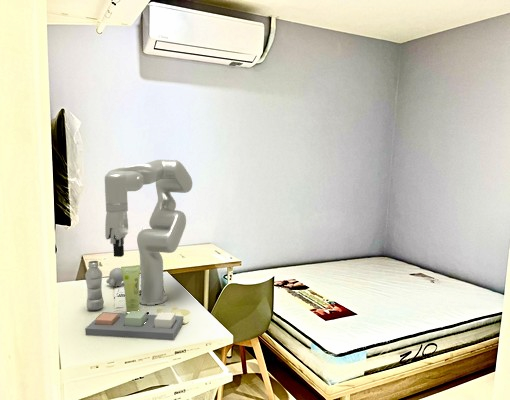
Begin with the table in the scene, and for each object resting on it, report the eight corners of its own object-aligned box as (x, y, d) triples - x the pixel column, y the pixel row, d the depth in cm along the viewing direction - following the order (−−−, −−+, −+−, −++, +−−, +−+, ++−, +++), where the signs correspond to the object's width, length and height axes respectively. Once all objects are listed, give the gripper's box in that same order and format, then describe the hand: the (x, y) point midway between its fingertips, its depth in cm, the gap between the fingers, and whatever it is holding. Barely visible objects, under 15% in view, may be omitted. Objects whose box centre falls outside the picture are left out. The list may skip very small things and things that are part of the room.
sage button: (131, 319, 155) (131, 310, 155) (146, 320, 155) (146, 311, 154) (125, 326, 150) (124, 317, 149) (141, 327, 149) (140, 318, 149)
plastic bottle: (98, 313, 165) (96, 265, 162) (83, 311, 167) (81, 263, 164) (107, 306, 172) (105, 260, 169) (92, 305, 173) (90, 259, 170)
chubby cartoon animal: (132, 290, 197) (138, 273, 198) (108, 286, 190) (115, 268, 190) (127, 286, 203) (133, 269, 203) (104, 281, 196) (110, 264, 196)
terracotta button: (103, 321, 157) (103, 312, 156) (118, 322, 156) (118, 313, 156) (96, 328, 151) (95, 319, 150) (111, 329, 150) (111, 320, 150)
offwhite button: (159, 321, 155) (159, 312, 154) (175, 321, 154) (175, 313, 154) (154, 328, 149) (154, 319, 148) (170, 329, 148) (170, 320, 148)
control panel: (103, 318, 161) (102, 312, 160) (183, 322, 158) (183, 316, 158) (85, 335, 147) (85, 328, 147) (173, 340, 144) (173, 333, 144)
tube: (131, 316, 163) (130, 268, 160) (122, 313, 166) (120, 266, 163) (142, 311, 168) (140, 264, 165) (133, 308, 170) (131, 262, 168)
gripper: (115, 203, 157) (117, 250, 160) (97, 210, 142) (99, 261, 145) (134, 204, 156) (136, 250, 159) (118, 211, 142) (120, 262, 145)
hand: (118, 256), depth 152 cm, fingers closed
